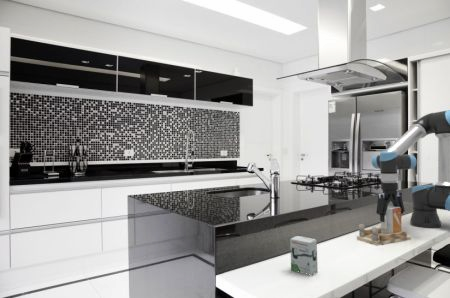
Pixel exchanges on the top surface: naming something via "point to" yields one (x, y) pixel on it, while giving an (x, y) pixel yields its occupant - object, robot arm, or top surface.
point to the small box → (393, 220)
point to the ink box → (304, 254)
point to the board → (380, 236)
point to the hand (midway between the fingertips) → (391, 227)
